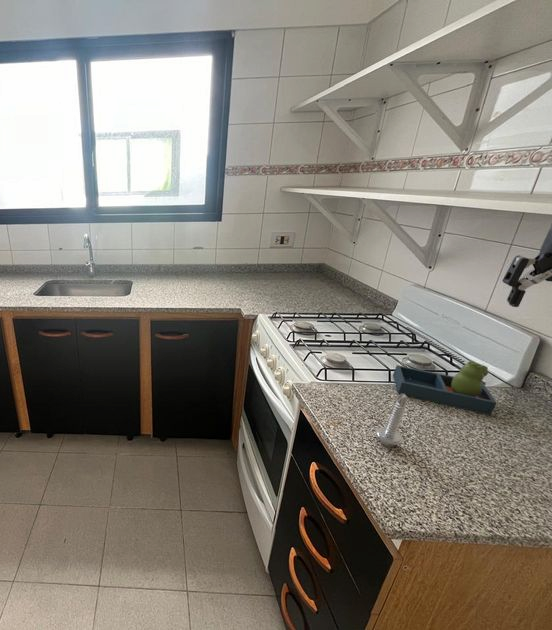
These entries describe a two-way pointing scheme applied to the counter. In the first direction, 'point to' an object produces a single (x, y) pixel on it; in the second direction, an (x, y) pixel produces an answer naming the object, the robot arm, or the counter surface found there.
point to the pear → (469, 379)
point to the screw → (393, 425)
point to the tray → (440, 390)
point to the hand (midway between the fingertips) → (540, 308)
